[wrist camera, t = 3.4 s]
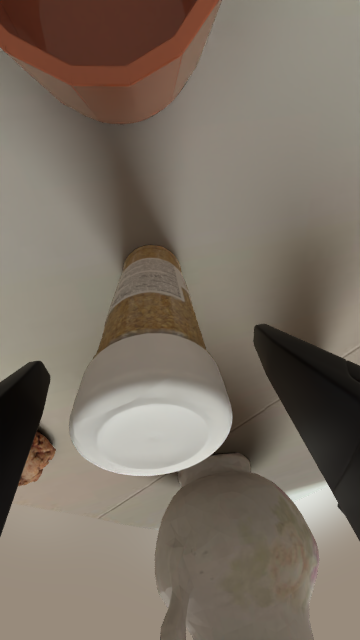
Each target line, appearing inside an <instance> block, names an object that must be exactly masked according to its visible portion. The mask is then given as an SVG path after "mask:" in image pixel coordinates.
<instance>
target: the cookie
mask: <svg viewBox="0 0 360 640" xmlns="http://www.w3.org/2000/svg"><path fill="white" fill-rule="evenodd" d="M39 434H40V432H39V433H38V432H36V435H35V438H34V441H33V443H32V446H31V449H30V452H29V455H28V458H27V461H26V464H25V467H24V470H23V472H22V475H21V478H20V481H19V484H18V486H22V485H26V484H28V483H30V482H32V481H33V482H35V481H37V480H38V478H39V477H40V476H41V474H42V471H43V468H44V467H45V466H46V465H47V464H48V463H49V462H48V461H49V460H52V458H53V457H54V454H55V451H56V449H55V448H54V447H53V446H52V444H50V442H49V441H48V439H47V438H46V437H45V436H43V435H42V434H40V435H39Z"/></svg>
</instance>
